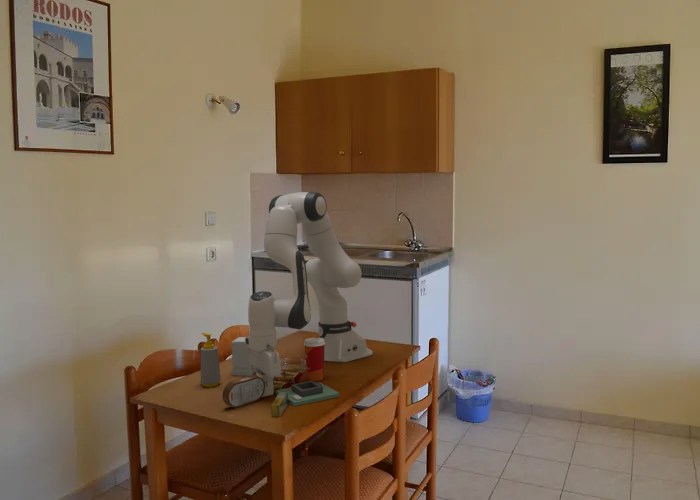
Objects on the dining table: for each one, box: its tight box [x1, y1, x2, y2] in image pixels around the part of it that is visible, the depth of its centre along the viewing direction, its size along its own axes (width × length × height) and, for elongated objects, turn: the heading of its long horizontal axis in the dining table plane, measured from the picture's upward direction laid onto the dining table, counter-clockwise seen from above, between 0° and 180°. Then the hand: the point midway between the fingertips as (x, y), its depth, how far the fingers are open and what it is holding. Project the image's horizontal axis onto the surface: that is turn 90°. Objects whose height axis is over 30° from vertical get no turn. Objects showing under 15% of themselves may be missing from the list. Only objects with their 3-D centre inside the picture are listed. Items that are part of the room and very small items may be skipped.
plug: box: [255, 369, 275, 398], centre depth 210 cm, size 4×4×8 cm
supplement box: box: [231, 336, 256, 377], centre depth 234 cm, size 7×7×13 cm
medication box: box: [270, 391, 289, 417], centre depth 196 cm, size 12×3×4 cm, turn 174°
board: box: [275, 380, 340, 407], centre depth 208 cm, size 16×14×3 cm
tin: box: [222, 374, 265, 408], centre depth 202 cm, size 15×3×8 cm, turn 136°
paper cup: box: [303, 337, 325, 382], centre depth 225 cm, size 8×8×14 cm
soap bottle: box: [200, 332, 222, 388], centre depth 221 cm, size 7×7×18 cm
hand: (264, 383), depth 210 cm, fingers open, 6 cm apart
